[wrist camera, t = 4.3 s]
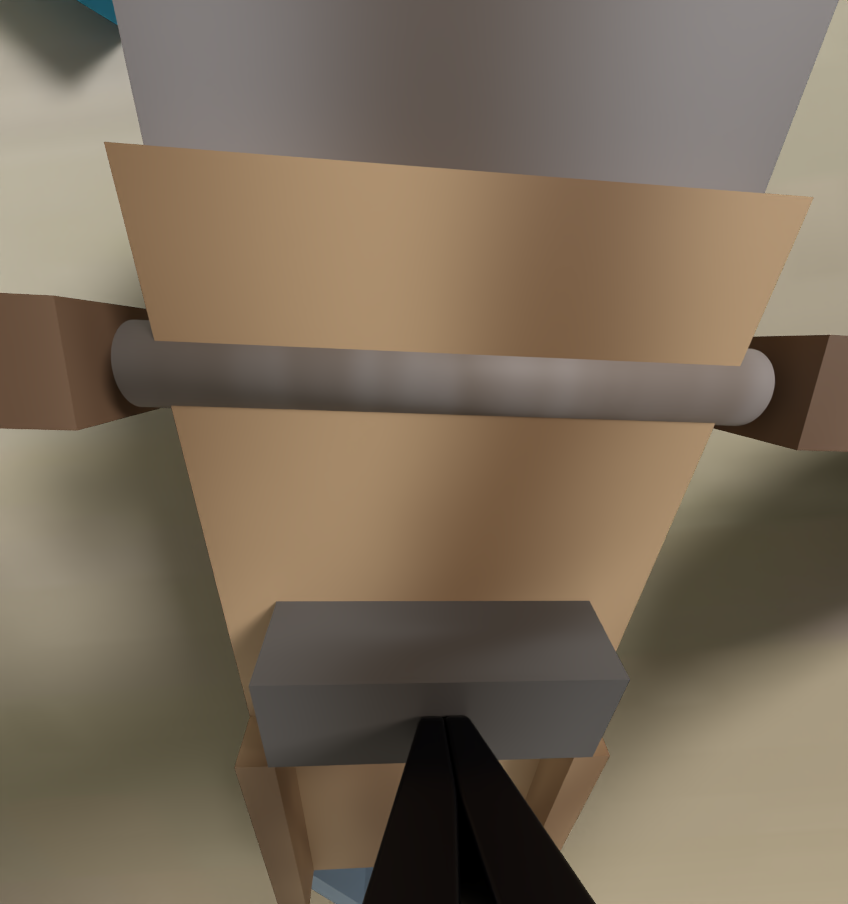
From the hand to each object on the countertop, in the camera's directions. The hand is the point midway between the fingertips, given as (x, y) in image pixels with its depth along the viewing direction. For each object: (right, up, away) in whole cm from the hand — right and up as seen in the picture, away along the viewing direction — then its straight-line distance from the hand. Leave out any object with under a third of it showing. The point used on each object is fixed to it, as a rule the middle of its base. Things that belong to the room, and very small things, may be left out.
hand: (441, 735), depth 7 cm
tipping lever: (0, +4, +7) cm, 7 cm away
